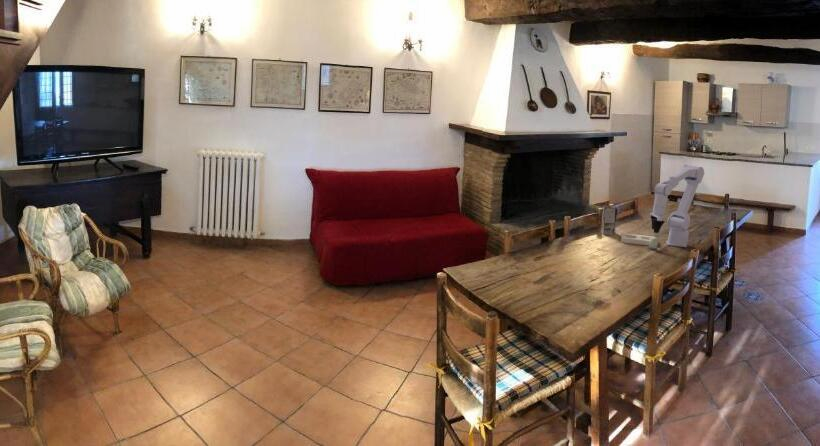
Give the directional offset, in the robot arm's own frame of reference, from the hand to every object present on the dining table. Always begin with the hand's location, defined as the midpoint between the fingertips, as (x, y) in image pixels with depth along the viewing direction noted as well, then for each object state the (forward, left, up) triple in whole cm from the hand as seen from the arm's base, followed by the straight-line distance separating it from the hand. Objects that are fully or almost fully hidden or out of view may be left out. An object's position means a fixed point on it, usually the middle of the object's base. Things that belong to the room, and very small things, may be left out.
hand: (655, 231), depth 269 cm
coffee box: (+22, -23, -10) cm, 33 cm away
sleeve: (0, 0, -10) cm, 10 cm away
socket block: (+6, -12, -10) cm, 17 cm away
